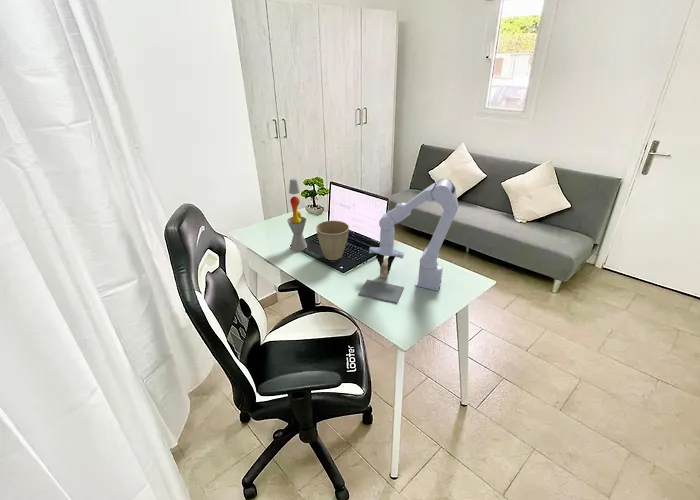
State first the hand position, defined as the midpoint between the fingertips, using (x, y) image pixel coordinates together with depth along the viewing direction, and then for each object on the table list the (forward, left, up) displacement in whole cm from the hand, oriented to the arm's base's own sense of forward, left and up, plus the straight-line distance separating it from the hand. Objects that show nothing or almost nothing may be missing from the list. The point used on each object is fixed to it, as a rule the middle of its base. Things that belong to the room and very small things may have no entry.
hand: (385, 269), depth 153 cm
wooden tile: (0, 0, -2) cm, 2 cm away
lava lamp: (+47, -9, -3) cm, 48 cm away
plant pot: (+27, -6, -3) cm, 28 cm away
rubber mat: (-2, +12, -3) cm, 13 cm away
